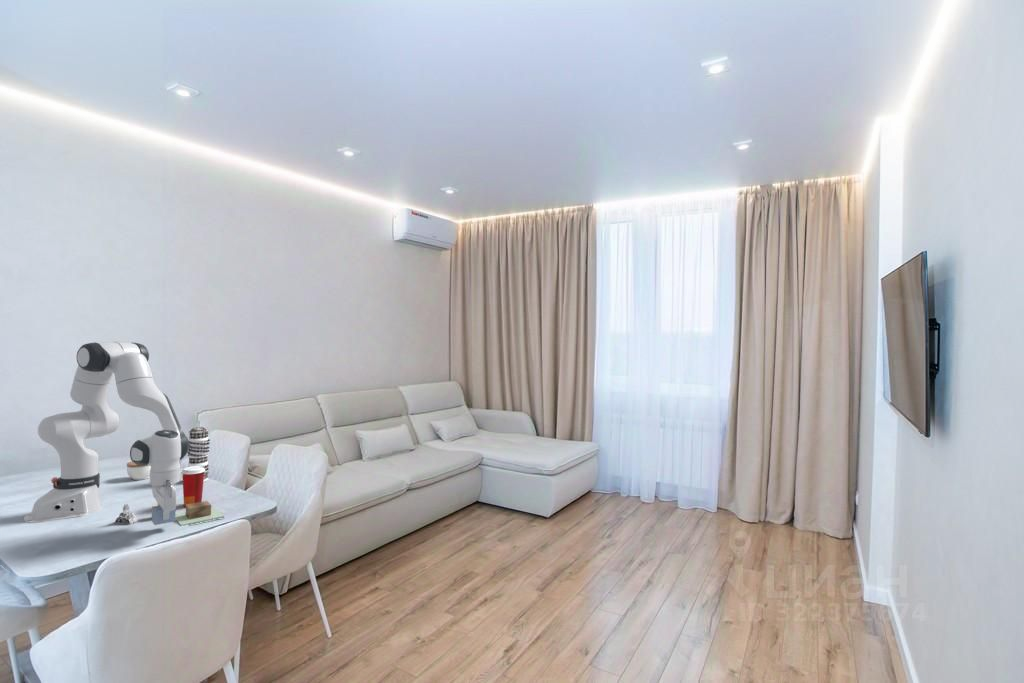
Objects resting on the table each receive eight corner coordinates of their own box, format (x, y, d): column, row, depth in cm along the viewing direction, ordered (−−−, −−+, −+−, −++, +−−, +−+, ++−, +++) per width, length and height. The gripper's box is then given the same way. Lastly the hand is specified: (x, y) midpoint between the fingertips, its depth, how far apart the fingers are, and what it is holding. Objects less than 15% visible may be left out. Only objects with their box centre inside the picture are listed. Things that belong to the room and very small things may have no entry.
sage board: (180, 527, 181) (181, 524, 181) (172, 517, 191) (172, 514, 191) (224, 518, 191) (224, 515, 191) (213, 509, 201) (213, 506, 201)
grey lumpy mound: (154, 520, 189) (154, 499, 188) (132, 528, 180) (132, 507, 180) (134, 517, 190) (134, 497, 190) (111, 526, 182) (112, 505, 182)
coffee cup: (201, 500, 211) (202, 464, 211) (206, 505, 205) (207, 468, 205) (178, 504, 205) (178, 467, 205) (182, 509, 199) (183, 471, 199)
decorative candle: (207, 482, 237) (208, 429, 236) (184, 483, 233) (185, 430, 233) (210, 477, 245) (212, 425, 245) (188, 478, 242) (189, 426, 242)
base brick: (189, 519, 186) (189, 508, 186) (185, 515, 191) (185, 504, 191) (210, 515, 191) (211, 504, 191) (206, 511, 196) (206, 500, 196)
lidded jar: (122, 478, 239) (123, 459, 239) (148, 474, 248) (149, 455, 248) (131, 482, 233) (131, 462, 233) (158, 478, 242) (158, 458, 242)
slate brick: (154, 525, 173) (155, 510, 173) (151, 520, 177) (152, 506, 177) (175, 521, 177) (175, 507, 177) (172, 517, 181) (172, 503, 181)
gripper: (182, 482, 172) (180, 523, 172) (169, 469, 186) (168, 506, 186) (160, 486, 167) (158, 527, 167) (148, 472, 182) (147, 510, 182)
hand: (163, 516), depth 177 cm, fingers closed on slate brick, 5 cm apart
